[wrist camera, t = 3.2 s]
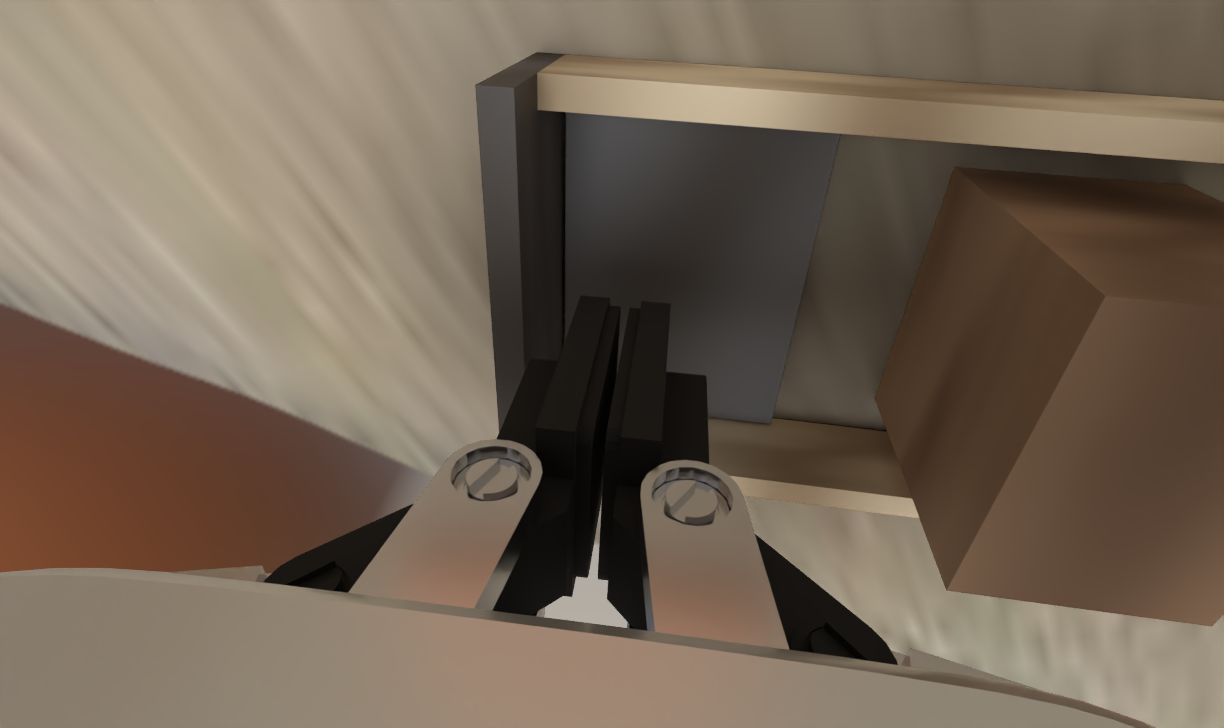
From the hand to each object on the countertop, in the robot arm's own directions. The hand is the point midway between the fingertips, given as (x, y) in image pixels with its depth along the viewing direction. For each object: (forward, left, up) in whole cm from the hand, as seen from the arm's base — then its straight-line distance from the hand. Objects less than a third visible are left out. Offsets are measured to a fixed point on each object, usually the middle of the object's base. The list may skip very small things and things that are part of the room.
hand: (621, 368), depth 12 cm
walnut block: (-9, 0, -4) cm, 10 cm away
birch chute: (-5, 0, -4) cm, 6 cm away
